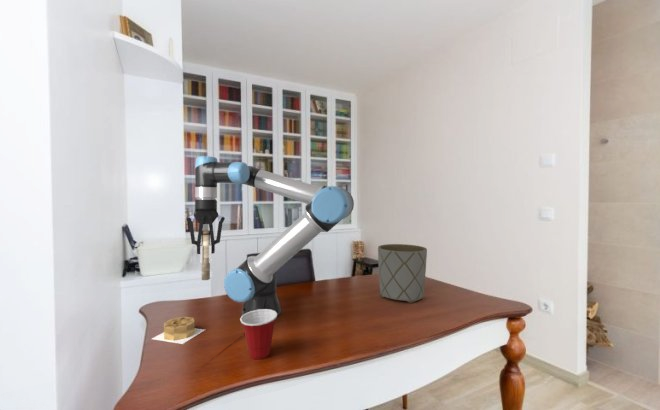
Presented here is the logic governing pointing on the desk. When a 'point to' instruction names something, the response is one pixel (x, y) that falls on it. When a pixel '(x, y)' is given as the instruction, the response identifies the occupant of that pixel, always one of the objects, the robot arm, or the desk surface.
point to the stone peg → (205, 255)
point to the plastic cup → (259, 331)
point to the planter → (402, 271)
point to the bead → (179, 328)
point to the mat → (181, 341)
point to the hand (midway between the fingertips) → (205, 262)
